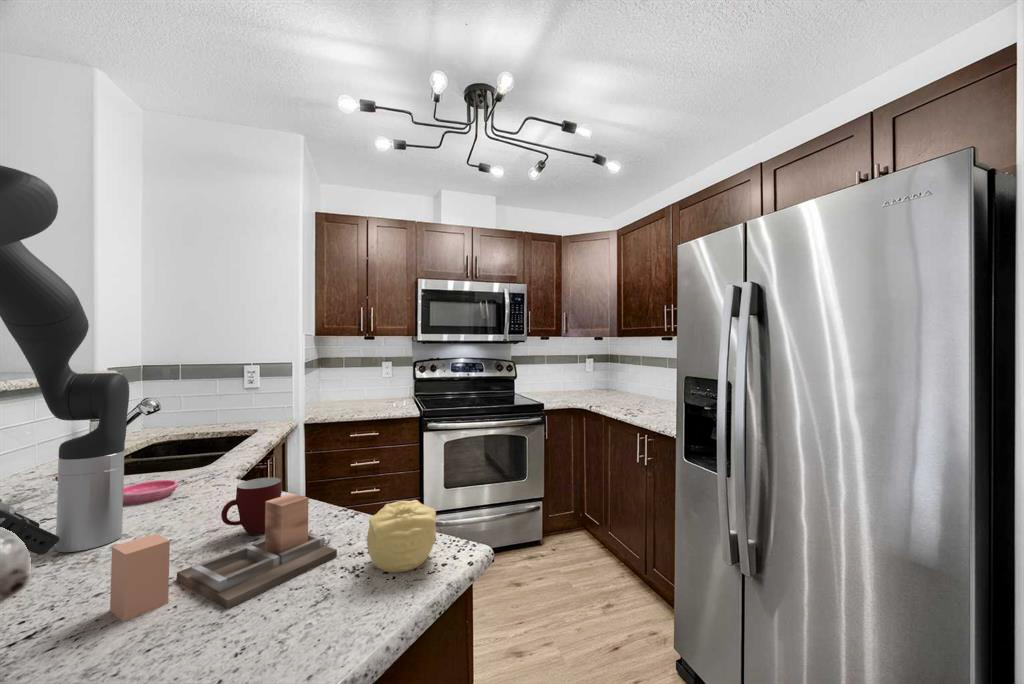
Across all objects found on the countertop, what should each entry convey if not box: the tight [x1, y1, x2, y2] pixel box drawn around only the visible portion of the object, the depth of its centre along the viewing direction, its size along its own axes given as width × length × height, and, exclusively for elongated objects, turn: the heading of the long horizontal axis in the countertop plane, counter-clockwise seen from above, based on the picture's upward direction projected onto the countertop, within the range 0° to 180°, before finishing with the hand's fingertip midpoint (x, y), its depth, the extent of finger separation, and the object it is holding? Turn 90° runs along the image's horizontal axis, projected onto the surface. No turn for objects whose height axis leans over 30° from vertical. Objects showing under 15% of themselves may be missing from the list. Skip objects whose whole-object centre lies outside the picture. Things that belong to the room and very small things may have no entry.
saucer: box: [123, 479, 179, 505], centre depth 109 cm, size 12×12×3 cm
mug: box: [220, 477, 283, 536], centre depth 85 cm, size 11×8×10 cm
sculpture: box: [366, 499, 437, 573], centre depth 73 cm, size 11×12×11 cm
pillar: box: [109, 533, 171, 622], centre depth 60 cm, size 5×5×9 cm
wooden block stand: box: [176, 493, 338, 610], centre depth 71 cm, size 16×18×10 cm
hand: (41, 539), depth 52 cm, fingers open, 8 cm apart
